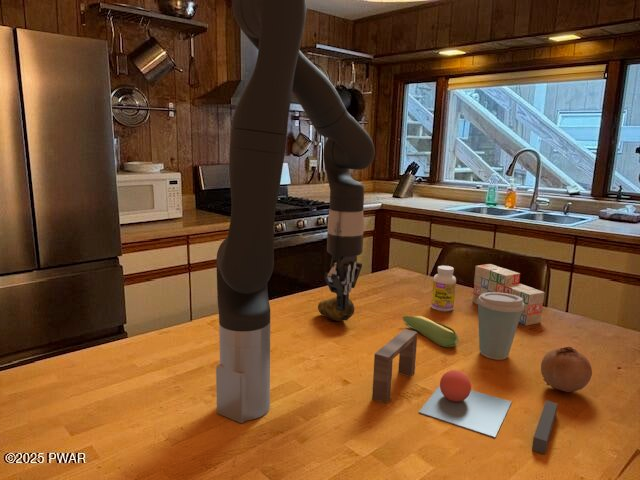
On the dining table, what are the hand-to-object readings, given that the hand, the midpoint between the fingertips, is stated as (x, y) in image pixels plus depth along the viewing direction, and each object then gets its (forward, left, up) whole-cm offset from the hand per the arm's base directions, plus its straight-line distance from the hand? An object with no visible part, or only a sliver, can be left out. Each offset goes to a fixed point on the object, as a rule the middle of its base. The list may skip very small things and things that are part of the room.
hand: (342, 309), depth 107 cm
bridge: (0, -13, -14) cm, 19 cm away
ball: (+2, -25, -11) cm, 28 cm away
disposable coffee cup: (+28, -27, -14) cm, 41 cm away
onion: (+18, -43, -14) cm, 49 cm away
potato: (+24, +15, -14) cm, 32 cm away
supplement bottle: (+52, -6, -14) cm, 54 cm away
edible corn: (+30, -10, -15) cm, 35 cm away
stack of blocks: (+60, -23, -14) cm, 66 cm away
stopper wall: (0, -42, -14) cm, 44 cm away
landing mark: (0, -28, -14) cm, 31 cm away
